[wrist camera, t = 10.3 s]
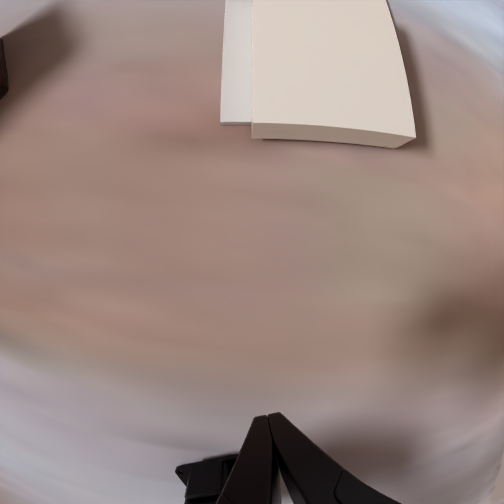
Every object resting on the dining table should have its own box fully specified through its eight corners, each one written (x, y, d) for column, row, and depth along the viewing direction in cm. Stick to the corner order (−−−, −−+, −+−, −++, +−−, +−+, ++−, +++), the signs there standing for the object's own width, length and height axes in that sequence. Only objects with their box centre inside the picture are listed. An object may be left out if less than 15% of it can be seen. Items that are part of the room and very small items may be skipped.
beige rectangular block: (416, 137, 16) (385, -1, 15) (253, 122, 16) (252, -20, 15) (394, 148, 19) (372, 19, 18) (251, 138, 19) (251, 4, 18)
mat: (411, 138, 19) (415, 136, 19) (221, 125, 19) (220, 122, 18) (379, -9, 18) (381, -13, 18) (228, -27, 18) (228, -31, 17)
